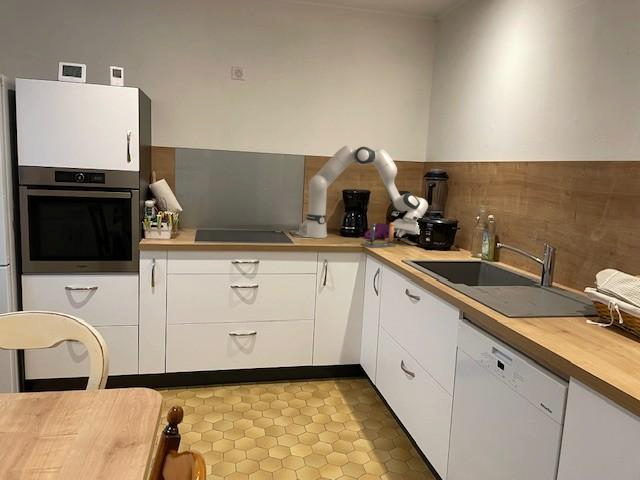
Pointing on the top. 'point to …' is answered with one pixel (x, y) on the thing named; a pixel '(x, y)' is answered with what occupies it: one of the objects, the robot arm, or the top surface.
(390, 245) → the hole plate
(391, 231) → the sliding leg
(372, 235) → the fixed leg
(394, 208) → the robot arm
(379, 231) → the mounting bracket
